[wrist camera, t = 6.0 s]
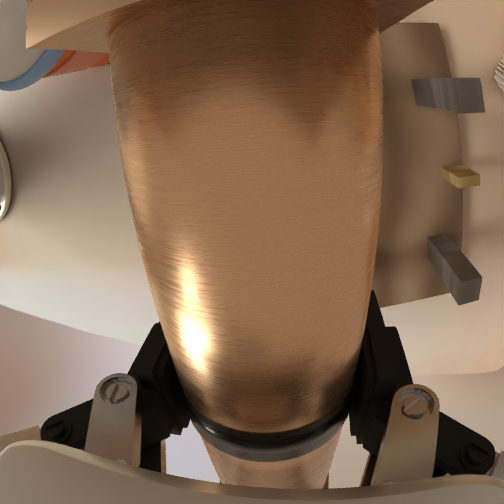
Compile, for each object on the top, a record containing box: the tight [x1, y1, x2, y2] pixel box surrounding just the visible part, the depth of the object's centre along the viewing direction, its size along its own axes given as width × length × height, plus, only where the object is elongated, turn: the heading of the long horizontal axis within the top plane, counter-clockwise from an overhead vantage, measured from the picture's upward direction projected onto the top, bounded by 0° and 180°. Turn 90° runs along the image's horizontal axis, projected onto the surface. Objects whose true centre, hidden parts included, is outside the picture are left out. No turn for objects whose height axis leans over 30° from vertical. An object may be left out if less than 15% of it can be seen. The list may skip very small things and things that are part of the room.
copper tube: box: [26, 0, 433, 489], centre depth 9 cm, size 20×6×6 cm, turn 4°
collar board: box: [371, 23, 485, 308], centre depth 20 cm, size 14×24×8 cm, turn 15°
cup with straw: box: [0, 0, 110, 91], centre depth 12 cm, size 9×9×18 cm
